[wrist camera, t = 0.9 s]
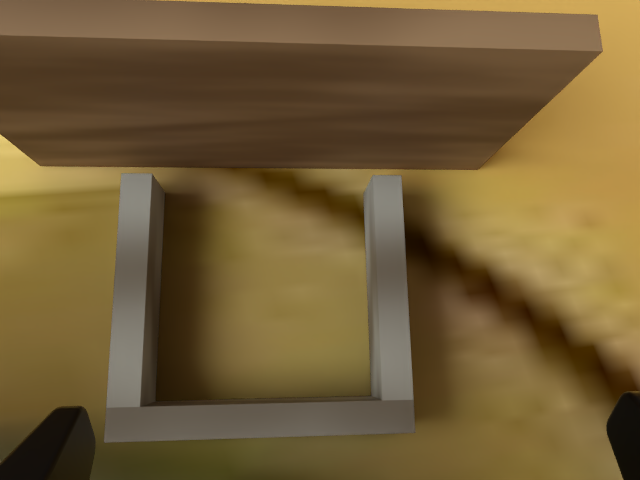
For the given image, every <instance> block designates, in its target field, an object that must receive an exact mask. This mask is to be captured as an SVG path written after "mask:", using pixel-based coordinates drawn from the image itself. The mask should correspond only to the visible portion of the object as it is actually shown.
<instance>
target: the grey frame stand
mask: <svg viewBox="0 0 640 480" xmlns="http://www.w3.org/2000/svg"><path fill="white" fill-rule="evenodd" d="M601 52H603V49H602V43H601V36H600V29H599V22H598V16H597V15H589V14H558V13H527V12H496V11H465V10H434V9H403V8H373V7H342V6H311V5H280V4H249V3H218V2H187V1H156V0H0V134H1V135H2V136H3V137H5V138H6V139H7V140H8V141H10V142H11V143H12V144H13V145H15V146H16V147H17V148H18V149H20V150H21V151H22V152H23V153H25V154H26V155H27V156H28V157H30V158H31V159H32V160H33V161H35V162H36V163H37V164H38V165H40V166H95V167H215V168H335V169H456V170H477V169H479V168H480V167H481V166H482V165H483V164H484V163H485V162H486V161H487V160H488V159H489V158H490V157H491V156H492V155H493V154H494V153H496V152H497V151H498V150H499V149H500V148H501V147H502V146H503V145H504V144H505V143H506V142H507V141H508V140H509V139H510V138H511V137H512V136H514V135H515V134H516V133H517V132H518V131H519V130H520V129H521V128H522V127H523V126H524V125H525V124H526V123H527V122H528V121H529V120H530V119H532V118H533V117H534V116H535V115H536V114H537V113H538V112H539V111H540V110H541V109H542V108H543V107H544V106H545V105H546V104H547V103H549V102H550V101H551V100H552V99H553V98H554V97H555V96H556V95H557V94H558V93H559V92H560V91H561V90H562V89H563V88H564V87H565V86H567V85H568V84H569V83H570V82H571V81H572V80H573V79H574V78H575V77H576V76H577V75H578V74H579V73H580V72H581V71H582V70H583V69H585V68H586V67H587V66H588V65H589V64H590V63H591V62H592V61H593V60H594V59H595V58H596V57H597V56H598V55H599V54H600V53H601ZM164 204H165V192H164V190H163V189H162V187H161V186H160V184H159V183H158V182H157V180H156V179H155V177H154V176H153V174H136V173H121V188H120V203H119V219H118V234H117V249H116V265H115V280H114V296H113V311H112V327H111V342H110V357H109V373H108V388H107V404H106V419H105V435H104V443H106V442H138V441H170V440H203V439H235V438H267V437H299V436H331V435H363V434H395V433H415V417H414V398H413V380H412V362H411V343H410V325H409V307H408V288H407V270H406V252H405V234H404V215H403V197H402V179H401V175H373V176H372V178H371V180H370V182H369V184H368V186H367V188H366V190H365V192H364V218H365V244H366V270H367V296H368V322H369V349H370V375H371V396H343V397H303V398H264V399H225V400H186V401H155V400H156V378H157V356H158V334H159V313H160V291H161V269H162V247H163V225H164Z"/></svg>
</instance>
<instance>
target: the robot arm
mask: <svg viewBox="0 0 640 480" xmlns="http://www.w3.org/2000/svg"><path fill="white" fill-rule="evenodd" d="M606 426H607V435H608V438H609V441H610V444H611V446H612V449H613V452H614V455H615V457H616V460H617V463H618V466H619V469H620V471H621V474H622V477H623V480H640V391H630V392H625V393H623V394H622V395H621V396H620V398H619V400H618V401H617V403H616V405H615V407H614V409H613V411H612V413H611V415H610V416H609V418H608V421H607V425H606ZM94 454H95V436H94V433H93V430H92V426H91V423H90V420H89V417H88V414H87V411H86V409H85V408H84V407H82V406H62V407H58V408H56V409H55V410H53V411H52V412H51V413H50V414H49V415H48V416H47V417H46V418H45V419H44V420H43V421H42V422H41V423H40V424H39V425H38V426H37V427H36V428H35V429H34V430H33V431H32V432H31V433H30V434H29V435H28V436H27V437H26V438H25V439H24V440H23V441H22V442H21V443H20V444H19V445H18V446H17V447H16V448H15V449H14V450H13V451H12V452H11V453H10V454H9V455H8V456H7V457H6V458H5V459H4V460H3V461H2V462H1V463H0V480H89V479H90V474H91V469H92V464H93V459H94Z"/></svg>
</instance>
